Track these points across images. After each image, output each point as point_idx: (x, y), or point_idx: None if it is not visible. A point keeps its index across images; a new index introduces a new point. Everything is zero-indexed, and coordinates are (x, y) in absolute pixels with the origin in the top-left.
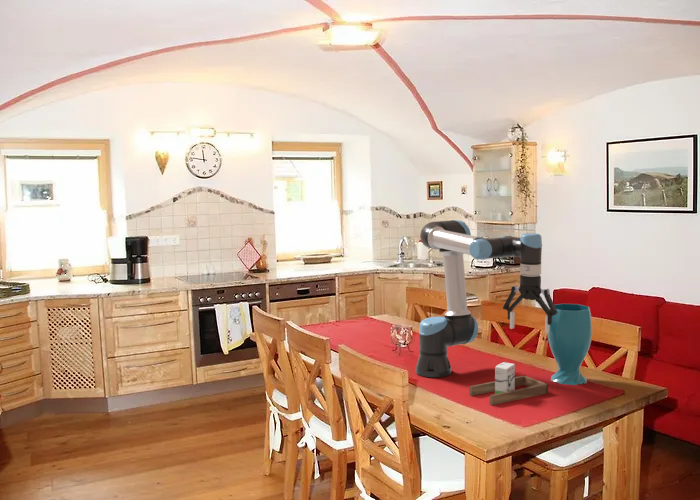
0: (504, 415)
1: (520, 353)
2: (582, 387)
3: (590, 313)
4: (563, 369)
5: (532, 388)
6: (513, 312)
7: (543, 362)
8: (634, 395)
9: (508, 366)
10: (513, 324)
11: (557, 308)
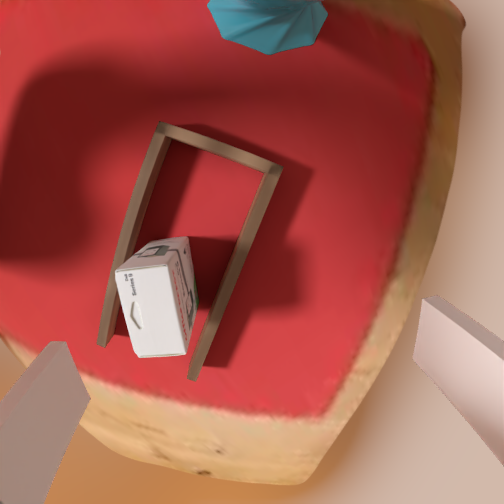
0: (259, 397)
1: None
2: (338, 56)
3: None
4: (270, 11)
5: (253, 238)
6: (5, 491)
7: None
8: (452, 71)
9: (170, 320)
10: (59, 384)
11: None
